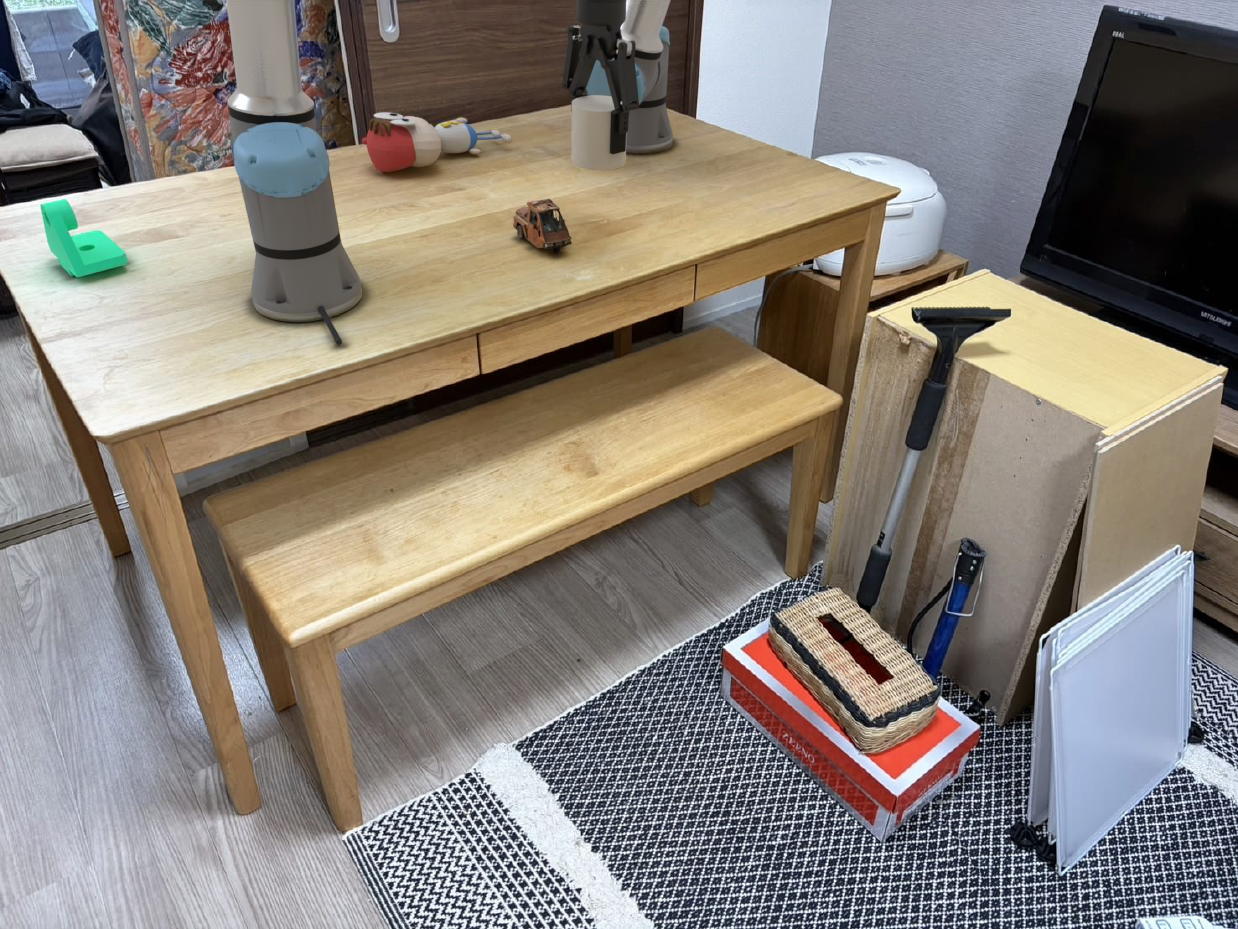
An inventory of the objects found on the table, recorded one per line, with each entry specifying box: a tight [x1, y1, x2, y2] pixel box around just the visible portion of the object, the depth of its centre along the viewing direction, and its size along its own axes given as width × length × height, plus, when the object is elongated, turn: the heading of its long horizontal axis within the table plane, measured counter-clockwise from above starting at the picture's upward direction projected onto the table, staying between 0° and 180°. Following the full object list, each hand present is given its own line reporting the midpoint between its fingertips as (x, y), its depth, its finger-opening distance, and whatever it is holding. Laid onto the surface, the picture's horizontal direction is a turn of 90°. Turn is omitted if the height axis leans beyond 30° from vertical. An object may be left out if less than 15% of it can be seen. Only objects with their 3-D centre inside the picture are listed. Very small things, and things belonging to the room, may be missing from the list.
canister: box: [571, 95, 627, 171], centre depth 151 cm, size 9×9×9 cm
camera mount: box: [39, 198, 129, 278], centre depth 139 cm, size 12×8×10 cm, turn 42°
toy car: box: [512, 198, 573, 256], centre depth 150 cm, size 6×12×7 cm, turn 39°
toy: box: [361, 111, 513, 173], centre depth 182 cm, size 18×10×30 cm
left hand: (598, 144), depth 153 cm, fingers closed on canister, 9 cm apart
